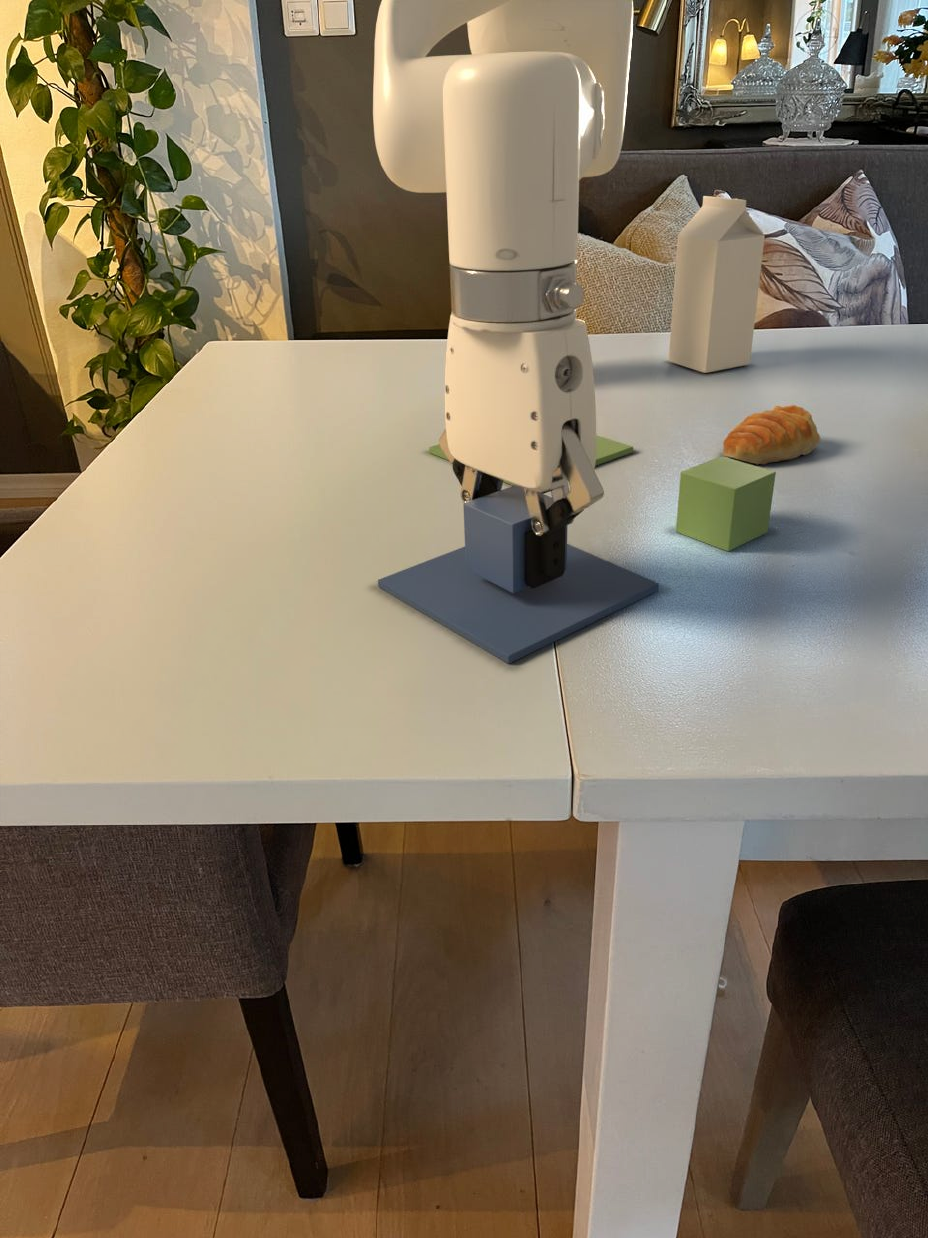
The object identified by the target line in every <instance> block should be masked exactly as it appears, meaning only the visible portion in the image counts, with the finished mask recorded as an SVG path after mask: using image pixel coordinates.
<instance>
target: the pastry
mask: <svg viewBox="0 0 928 1238" xmlns="http://www.w3.org/2000/svg"><path fill="white" fill-rule="evenodd" d="M820 441H821V435H820V433H819V432H818V428H817V425H816V424H815V422H814V420H813V417H812V414H811V413H810V412H809V411H808V410H806V409H805V408H804V407H801V406H798V405H795V404H790V405H785V406H780V405H776V406H774V407H773V408H772V409H770V410H769V409H768V410H764V411H762V412H755V413H751V414H750V415H747V416H746V417H745V418H744V420H742V421H741V422H740V423H738V424H737V425H736V426H735V427H734V428H733V429H732V430H731V431H730V432H729V433H728V434H727V436H726V438H724V440H723V442H722V443H723V457H730V458H731V459H735V460H738V461H742V462H746V463H749V464H756V465H755V466H758V465H759V464H760V465H767V464H768V463H780V462H783V461H786V460H787V461H789V460H793V459H796V458H799V457H800V456H802V455H803V456H805V455H809V454H810V453H811V452H812V451H813V450H814V449H815V448H816V446H818V445H819V443H820Z"/></svg>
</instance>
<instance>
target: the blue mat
mask: <svg viewBox="0 0 928 1238" xmlns="http://www.w3.org/2000/svg"><path fill="white" fill-rule="evenodd" d="M377 585H378V588H379V589H381V590H382V591H384V592H386V593H387V594H389V595H391V596H393V597H394V598H396V599H397V600H400V601H401V602H403V603H405V604H407V605H408V606H410V607H412V608H413V609H415V610H417V611H418V612H420V613H422V614H424V615H425V616H427V617H428V618H429V619H432V620H434V621H435V622H436V623H439V624H440V625H442V626H443V627H445V628H447V629H448V630H450V631H452V632H454V633H456V634H457V635H459V636H461V637H462V638H464V639H465V640H467V641H469V642H470V643H472V644H474V645H476V646H478V647H479V648H481V649H483V650H484V651H486V652H488V653H490V654H491V655H493V656H494V657H496V658H498V659H500V661H503V662H504V663H506V664H509V665H510V664H511V663H513V662H516V661H518V660H520V659H522V658H523V657H526V656H528V655H530V654H532V653H534V652H537V651H538V650H540V649H543V648H544V647H546V646H548V645H550V644H552V643H555V642H556V641H558V640H561V639H562V638H564V637H567V636H568V635H571V634H573V633H574V632H577V631H579V630H581V629H584V628H585V627H586V626H589V625H591V624H593V623H595V622H597V621H600V620H602V619H604V618H606V617H607V616H609V615H611V614H614V613H615V612H618V611H620V610H622V609H624V608H626V607H627V606H630V605H632V604H634V603H636V602H638V601H640V600H643V599H644V598H646V597H648V596H650V595H652V594H654V593H656V592H658V591H659V589H660V583H659V582H657V581H655V580H652V579H650V578H648V577H646V576H643V575H640V574H639V573H636V572H634V571H631V570H629V569H627V568H624V567H622V566H620V565H618V564H615V563H612V562H610V561H608V560H606V559H603V558H602V557H599V556H597V555H594V554H592V553H589V552H588V551H585V550H582V549H580V548H578V547H576V546H573V545H571V544H568V543H567V570H566V571H565V572H564V574H563V575H562V576H561V577H559V578H557V579H554V580H552V581H550V582H547V583H545V584H543V585H541V586H538V587H536V588H531V587H527V588H525V589H523V590H520V591H518V592H516V593H512V592H510V591H508V590H506V589H504V588H502V587H500V586H498V585H496V584H494V583H492V582H490V581H488V580H486V579H484V578H482V577H480V576H478V575H476V574H474V573H472V572H470V571H468V570H466V558H465V546H461V547H459V548H456V549H454V550H452V551H449V552H447V553H443V554H441V555H439V556H436V557H433V558H431V559H429V560H426V561H423V562H421V563H418V564H415V565H413V566H410V567H408V568H405V569H402V570H400V571H398V572H394V573H393V574H389V575H387V576H384V577H382V578H379V579H377Z"/></svg>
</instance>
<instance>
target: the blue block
mask: <svg viewBox="0 0 928 1238" xmlns="http://www.w3.org/2000/svg"><path fill="white" fill-rule="evenodd" d="M543 495H544V500H545V505H546V510H547V509H548V508H549V507H550V506H551V505H552V504H553V500H552V496H549V495H546V494H545V493H544V494H543ZM462 505H463V507H462V508H463V528H464V529H463V530H464V532H463V533H464V547H465V558H466V570H468V571H470V572H472V573H474V574H476V575H478V576H480V577H482V578H484V579H486V580H488V581H490V582H492V583H494V584H496V585H498V586H500V587H502V588H504V589H506V590H508V591H510V592H512V593H516V592H518V591H520V590H523V589H525V588H527V587H529V586H527V585H526V584H525V532H528V531H530V530H532V528H531V523H530V518H529V513H528V508H527V503H526V498H525V493H524V489H523V488H522V487H520V486H517V485H514V486H513V485H511V486H509V487H506V488H502V489H501V490H500V491H497V492H495V493H492V494H489V495H486V496H483V497H480V498H477V499H475V500H472V501H469V502H466V503H464V502H463V504H462ZM568 527H569V525H566V536H565V571H566V570H567V544H568Z"/></svg>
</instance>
